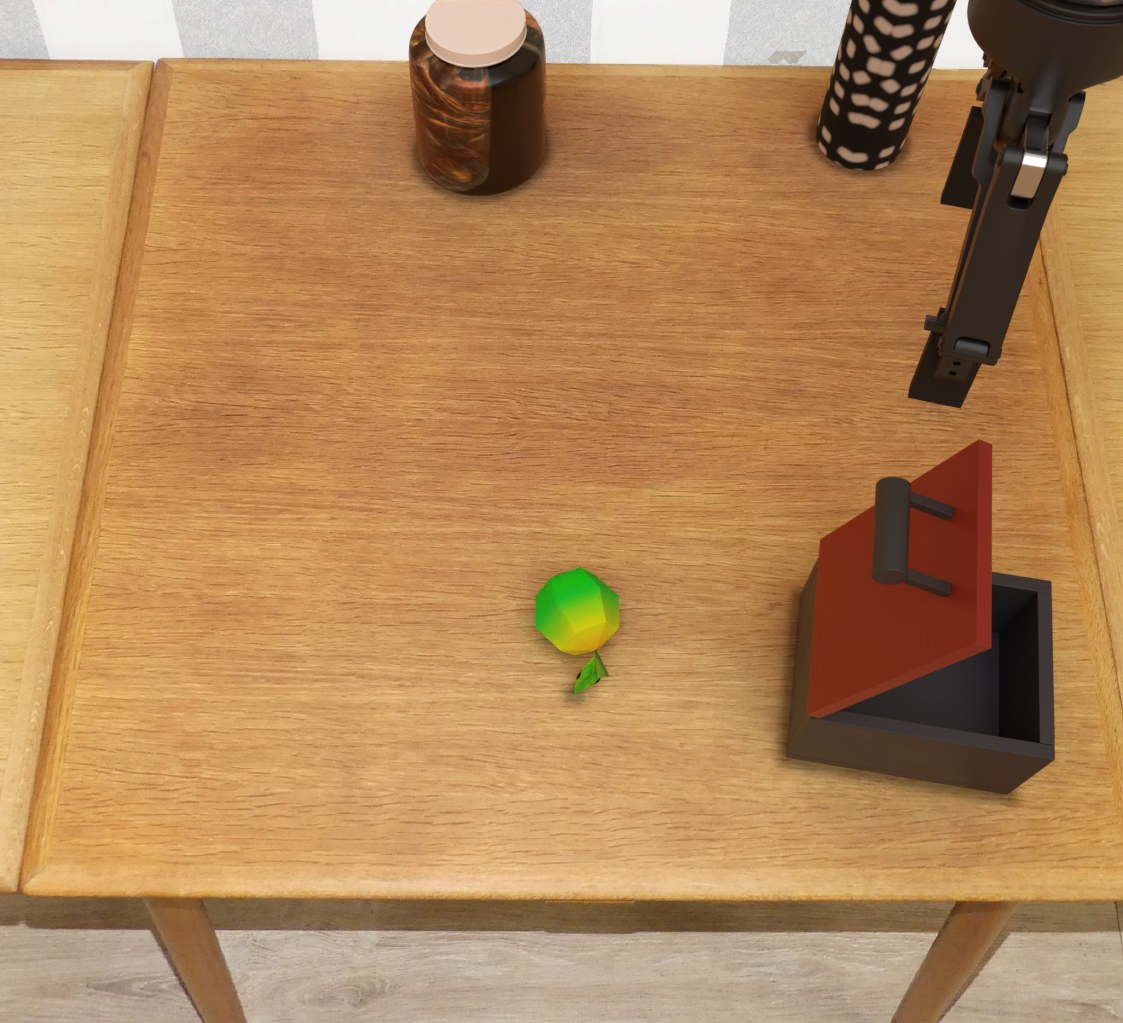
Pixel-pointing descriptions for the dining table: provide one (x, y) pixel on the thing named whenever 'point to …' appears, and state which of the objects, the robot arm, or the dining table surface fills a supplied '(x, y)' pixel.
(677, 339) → the dining table surface
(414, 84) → the jar
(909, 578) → the lid
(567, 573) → the apple
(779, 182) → the dining table surface
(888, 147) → the spotted tube
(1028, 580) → the dark storage box
